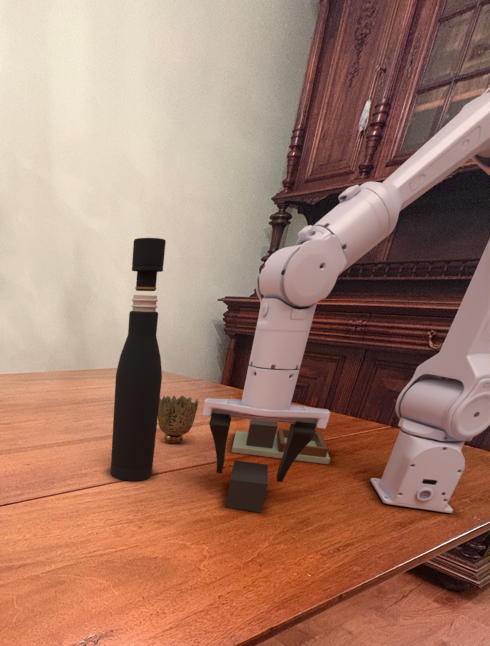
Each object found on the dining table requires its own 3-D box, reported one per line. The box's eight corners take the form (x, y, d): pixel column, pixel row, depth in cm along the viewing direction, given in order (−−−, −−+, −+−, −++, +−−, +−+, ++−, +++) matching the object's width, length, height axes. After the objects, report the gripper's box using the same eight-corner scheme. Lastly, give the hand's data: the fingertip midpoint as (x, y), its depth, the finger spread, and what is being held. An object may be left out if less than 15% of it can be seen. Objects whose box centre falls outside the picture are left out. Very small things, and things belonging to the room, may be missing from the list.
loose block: (260, 513, 55) (268, 484, 53) (224, 507, 56) (230, 479, 54) (261, 490, 61) (267, 464, 59) (229, 486, 63) (234, 460, 61)
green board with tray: (328, 464, 72) (338, 435, 70) (231, 452, 77) (236, 424, 74) (321, 445, 82) (329, 419, 80) (235, 435, 87) (240, 410, 84)
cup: (146, 438, 83) (150, 396, 79) (177, 434, 86) (182, 394, 82) (168, 449, 77) (173, 404, 73) (200, 445, 80) (207, 401, 76)
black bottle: (150, 483, 63) (176, 236, 48) (107, 479, 64) (120, 236, 49) (152, 468, 68) (176, 242, 54) (113, 465, 69) (126, 242, 55)
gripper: (336, 367, 51) (305, 473, 58) (214, 359, 56) (198, 458, 62) (346, 375, 46) (309, 491, 52) (208, 365, 50) (191, 474, 57)
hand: (248, 475), depth 57 cm, fingers open, 7 cm apart
